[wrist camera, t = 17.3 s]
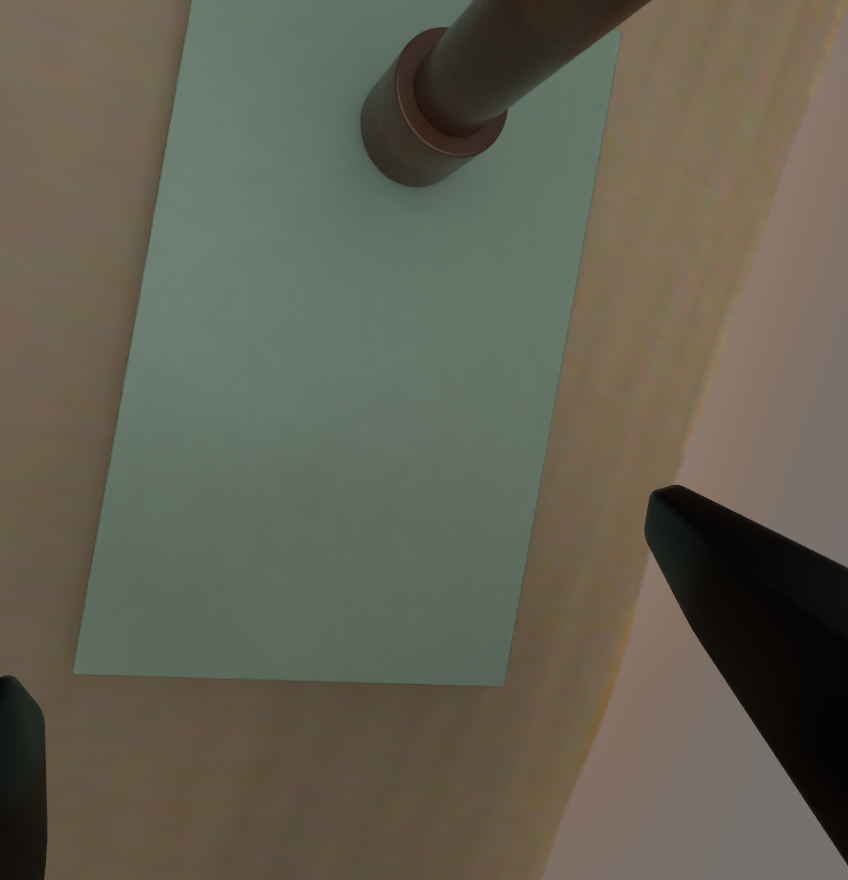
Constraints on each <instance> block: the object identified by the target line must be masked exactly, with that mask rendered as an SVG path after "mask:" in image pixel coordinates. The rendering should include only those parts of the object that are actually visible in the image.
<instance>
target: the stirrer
mask: <svg viewBox="0 0 848 880" xmlns="http://www.w3.org/2000/svg"><path fill="white" fill-rule="evenodd" d="M650 1H651V0H473V1H472V2H471V3H470V5H469V6H468V7H467V8H466V9H465V10H464V12H463V13H462V14H461V15H460V16H459V17H458V18H457V20H456V21H455V22H454V23H453V24H452V25H451V27H438V28H432V29H428V30H425V31H423V32H421V33H419V34H418V35H416V36H415V37H414V38H413V39H412V40H411V41H410V42H409V43H408V44H407V45H406V46H405V47H404V49H403V50H402V51H401V53H400V54H399V55H398V56H397V58H396V59H395V60H394V62H393V63H392V64H391V65H390V67H389V68H388V69H387V71H386V72H385V73H384V74H383V76H382V77H381V78H380V79H379V81H378V82H377V83H376V85H375V86H374V87H373V88H372V90H371V91H370V93H369V94H368V96H367V98H366V100H365V102H364V105H363V108H362V113H361V133H362V138H363V142H364V145H365V148H366V150H367V152H368V154H369V156H370V158H371V159H372V161H373V162H374V164H375V165H376V166H377V167H378V169H379V170H380V171H381V172H383V173H384V174H385V175H386V176H387V177H389V178H390V179H392V180H394V181H396V182H397V183H400V184H402V185H405V186H410V187H426V186H431V185H433V184H436V183H438V182H440V181H441V180H443V179H444V178H446V177H447V176H449V175H450V174H452V173H453V172H455V171H456V170H458V169H459V168H461V167H462V166H463V165H465V164H466V163H468V162H469V161H471V160H472V159H474V158H475V157H477V156H478V155H480V154H481V153H483V152H484V151H485V150H487V149H488V148H489V147H491V146H492V144H493V143H494V142H495V141H496V140H497V138H498V137H499V136H500V134H501V132H502V130H503V128H504V125H505V122H506V118H507V113H508V108H509V107H511V106H512V105H513V104H515V103H516V102H517V101H519V100H520V99H521V98H523V97H524V96H525V95H527V94H528V93H529V92H531V91H532V90H533V89H535V88H536V87H537V86H539V85H540V84H541V83H543V82H544V81H545V80H547V79H548V78H549V77H551V76H552V75H553V74H554V73H556V72H557V71H558V70H560V69H561V68H562V67H564V66H565V65H566V64H568V63H569V62H570V61H572V60H573V59H574V58H576V57H577V56H578V55H580V54H581V53H582V52H584V51H585V50H586V49H588V48H589V47H590V46H592V45H593V44H594V43H596V42H597V41H598V40H600V39H601V38H602V37H604V36H605V35H606V34H608V33H609V32H610V31H612V30H613V29H614V28H616V27H617V26H618V25H619V24H621V23H622V22H623V21H625V20H626V19H627V18H629V17H630V16H631V15H633V14H634V13H635V12H637V11H638V10H639V9H641V8H642V7H643V6H645V5H646V4H647V3H649V2H650Z"/></svg>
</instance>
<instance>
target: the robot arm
mask: <svg viewBox="0 0 848 880" xmlns="http://www.w3.org/2000/svg"><path fill="white" fill-rule="evenodd" d="M644 531H645V537H646V541H647V543H648V545H649V547H650V549H651V551H652V553H653V555H654V557H655V559H656V561H657V563H658V565H659V567H660V569H661V570H662V573H663V574H664V576H665V578H666V580H667V582H668V584H669V586H670V588H671V590H672V592H673V594H674V596H675V598H676V600H677V602H678V604H679V605H680V608H681V609H682V611H683V613H684V615H685V617H686V619H687V621H688V623H689V624H690V626H691V628H692V630H693V631H694V633H695V634H696V636H697V638H698V639H699V641H700V643H701V644H702V646H703V647H704V649H705V650H706V652H707V653H708V654H709V656H710V658H711V659H712V661H713V662H714V664H715V665H716V667H717V668H718V670H719V671H720V673H721V674H722V676H723V677H724V679H725V680H726V682H727V683H728V685H729V686H730V688H731V689H732V691H733V693H734V694H735V696H736V697H737V699H738V700H739V701H740V703H741V705H742V706H743V707H744V709H745V711H746V712H747V714H748V715H749V717H750V718H751V719H752V721H753V723H754V724H755V726H756V727H757V729H758V730H759V732H760V733H761V735H762V736H763V738H764V739H765V741H766V742H767V744H768V745H769V747H770V748H771V750H772V752H773V753H774V755H775V756H776V758H777V759H778V761H779V762H780V763H781V765H782V767H783V768H784V770H785V771H786V773H787V774H788V776H789V777H790V779H791V780H792V782H793V783H794V785H795V786H796V788H797V789H798V791H799V792H800V794H801V795H802V797H803V798H804V800H805V801H806V803H807V804H808V806H809V807H810V809H811V810H812V812H813V814H814V815H815V816H816V818H817V820H818V821H819V823H820V824H821V826H822V827H823V829H824V830H825V831H826V833H827V834H828V836H829V838H830V839H831V840H832V842H833V844H834V845H835V847H836V848H837V850H838V851H839V853H840V854H841V856H842V857H843V859H844V860H845V862H846V863H847V865H848V568H847V567H845V566H843V565H841V564H839V563H837V562H835V561H833V560H831V559H829V558H827V557H825V556H823V555H821V554H819V553H817V552H815V551H813V550H811V549H809V548H807V547H805V546H803V545H801V544H799V543H796V542H794V541H793V540H790V539H789V538H787V537H785V536H782V535H781V534H779V533H776V532H774V531H772V530H770V529H768V528H766V527H764V526H762V525H760V524H758V523H756V522H754V521H752V520H750V519H748V518H746V517H744V516H742V515H740V514H738V513H736V512H734V511H732V510H730V509H728V508H726V507H724V506H722V505H720V504H718V503H716V502H714V501H712V500H710V499H708V498H706V497H704V496H701V495H700V494H698V493H696V492H694V491H692V490H690V489H687V488H686V487H683V486H680V485H671V486H668V487H664V488H661V489H657V490H655V491H653V492H652V494H651V495H650V498H649V503H648V509H647V515H646V521H645V528H644ZM46 852H47V791H46V752H45V722H44V717H43V713H42V711H41V709H40V707H39V705H38V704H37V703H36V702H35V701H34V699H33V698H32V697H31V696H30V694H29V693H28V692H27V691H26V689H25V688H24V687H23V686H22V685H21V683H20V682H19V681H18V680H17V679H16V678H15V677H13V676H10V675H6V676H2V677H0V880H44V876H45V865H46Z"/></svg>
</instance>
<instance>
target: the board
mask: <svg viewBox="0 0 848 880" xmlns="http://www.w3.org/2000/svg"><path fill="white" fill-rule="evenodd" d="M472 1H473V0H191V3H190V9H189V14H188V20H187V26H186V31H185V37H184V42H183V48H182V54H181V59H180V65H179V71H178V76H177V82H176V88H175V93H174V99H173V105H172V110H171V116H170V121H169V127H168V133H167V138H166V144H165V150H164V155H163V161H162V167H161V172H160V178H159V184H158V189H157V195H156V200H155V206H154V212H153V217H152V223H151V229H150V234H149V240H148V246H147V251H146V257H145V263H144V268H143V274H142V280H141V285H140V291H139V296H138V302H137V308H136V313H135V319H134V325H133V330H132V336H131V342H130V347H129V353H128V359H127V364H126V370H125V375H124V381H123V387H122V392H121V398H120V404H119V409H118V415H117V421H116V426H115V432H114V438H113V443H112V449H111V454H110V460H109V466H108V471H107V477H106V483H105V488H104V494H103V500H102V505H101V511H100V517H99V522H98V528H97V533H96V539H95V545H94V550H93V556H92V562H91V567H90V573H89V579H88V584H87V590H86V596H85V601H84V607H83V613H82V618H81V624H80V629H79V635H78V641H77V646H76V652H75V658H74V663H73V669H72V674H79V675H113V676H148V677H182V678H216V679H250V680H284V681H319V682H353V683H387V684H421V685H456V686H490V687H503V686H504V682H505V677H506V671H507V665H508V660H509V654H510V649H511V643H512V638H513V632H514V627H515V621H516V616H517V610H518V605H519V599H520V594H521V588H522V582H523V577H524V571H525V566H526V560H527V555H528V549H529V544H530V538H531V533H532V527H533V522H534V516H535V510H536V505H537V499H538V494H539V488H540V483H541V477H542V472H543V466H544V461H545V455H546V450H547V444H548V438H549V433H550V427H551V422H552V416H553V411H554V405H555V400H556V394H557V389H558V383H559V378H560V372H561V367H562V361H563V355H564V350H565V344H566V339H567V333H568V328H569V322H570V317H571V311H572V306H573V300H574V295H575V289H576V283H577V278H578V272H579V267H580V261H581V256H582V250H583V245H584V239H585V234H586V228H587V223H588V217H589V212H590V206H591V200H592V195H593V189H594V184H595V178H596V173H597V167H598V162H599V156H600V151H601V145H602V140H603V134H604V128H605V123H606V117H607V112H608V106H609V101H610V95H611V90H612V84H613V79H614V73H615V68H616V62H617V56H618V51H619V45H620V40H621V32H619V31H617V30H615V29H613V30H612V31H610V32H609V33H608V34H606V35H605V36H604V37H602V38H601V39H600V40H598V41H597V42H596V43H594V44H593V45H592V46H590V47H589V48H588V49H586V50H585V51H584V52H582V53H581V54H580V55H578V56H577V57H576V58H574V59H573V60H572V61H570V62H569V63H568V64H566V65H565V66H564V67H562V68H561V69H560V70H558V71H557V72H556V73H554V74H553V75H552V76H551V77H549V78H548V79H547V80H545V81H544V82H543V83H541V84H540V85H539V86H537V87H536V88H535V89H533V90H532V91H531V92H529V93H528V94H527V95H525V96H524V97H523V98H521V99H520V100H519V101H517V102H516V103H515V104H513V105H512V106H511V107H509V108H508V113H507V118H506V122H505V125H504V128H503V130H502V132H501V134H500V136H499V137H498V138H497V140H496V141H495V142H494V143H493V144H492V146H491V147H489V148H488V149H487V150H485V151H484V152H483V153H481V154H480V155H478V156H477V157H475V158H474V159H472V160H471V161H469V162H468V163H466V164H465V165H463V166H462V167H461V168H459V169H458V170H456V171H455V172H453V173H452V174H450V175H449V176H447V177H446V178H444V179H443V180H441V181H440V182H438V183H436V184H433V185H431V186H426V187H410V186H405V185H402V184H400V183H397V182H396V181H394V180H392V179H390V178H389V177H387V176H386V175H385V174H384V173H383V172H381V171H380V170H379V169H378V167H377V166H376V165H375V164H374V162H373V161H372V159H371V158H370V156H369V154H368V152H367V150H366V148H365V145H364V142H363V138H362V133H361V113H362V108H363V105H364V102H365V100H366V98H367V96H368V94H369V93H370V91H371V90H372V88H373V87H374V86H375V85H376V83H377V82H378V81H379V79H380V78H381V77H382V76H383V74H384V73H385V72H386V71H387V69H388V68H389V67H390V65H391V64H392V63H393V62H394V60H395V59H396V58H397V56H398V55H399V54H400V53H401V51H402V50H403V49H404V47H405V46H406V45H407V44H408V43H409V42H410V41H411V40H412V39H413V38H414V37H415V36H416V35H418V34H419V33H421V32H423V31H425V30H428V29H432V28H438V27H451V25H452V24H453V23H454V22H455V21H456V20H457V18H458V17H459V16H460V15H461V14H462V13H463V12H464V10H465V9H466V8H467V7H468V6H469V5H470V3H471V2H472Z"/></svg>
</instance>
